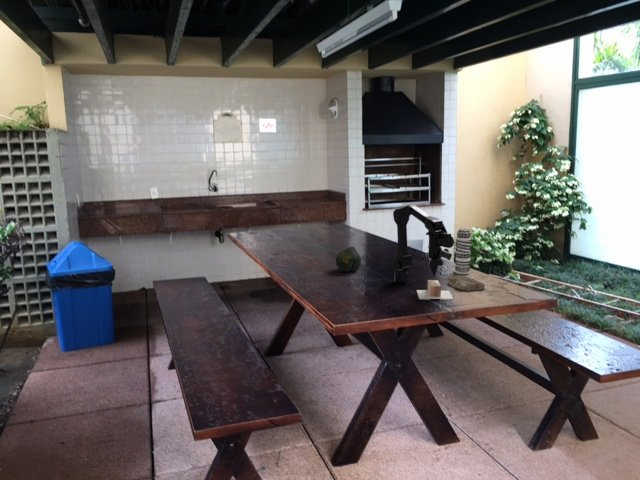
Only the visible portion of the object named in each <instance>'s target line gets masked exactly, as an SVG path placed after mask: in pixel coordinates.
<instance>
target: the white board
mask: <svg viewBox="0 0 640 480" xmlns="http://www.w3.org/2000/svg"><path fill="white" fill-rule="evenodd" d="M416 293H417V297H418V299H419V300H430V299H440V301H441V300H442V301H443V300H444V301H448V300H449V301H454V297H453V295H452V293H451V291H450V290H442V289H441V297H434V296H430V295H429V292H428V289H416Z"/></svg>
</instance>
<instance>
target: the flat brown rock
mask: <svg viewBox="0 0 640 480" xmlns="http://www.w3.org/2000/svg"><path fill="white" fill-rule="evenodd" d="M447 283H448V285H449V286H451V287H452V288H455V289H459V290H461V291H468V292H471V291H470V290H476V291H477V290H478V291H481V289H483V290H485V289H486V288H485V287H486V285H485V283H484V282H481V281H478V280H477V279H474V278H471V277H468V276H467V277H466V276H464V275H462V274H460V275H459V274H458V275H456V274H455V275H453V276H449V277H448V279H447Z"/></svg>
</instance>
